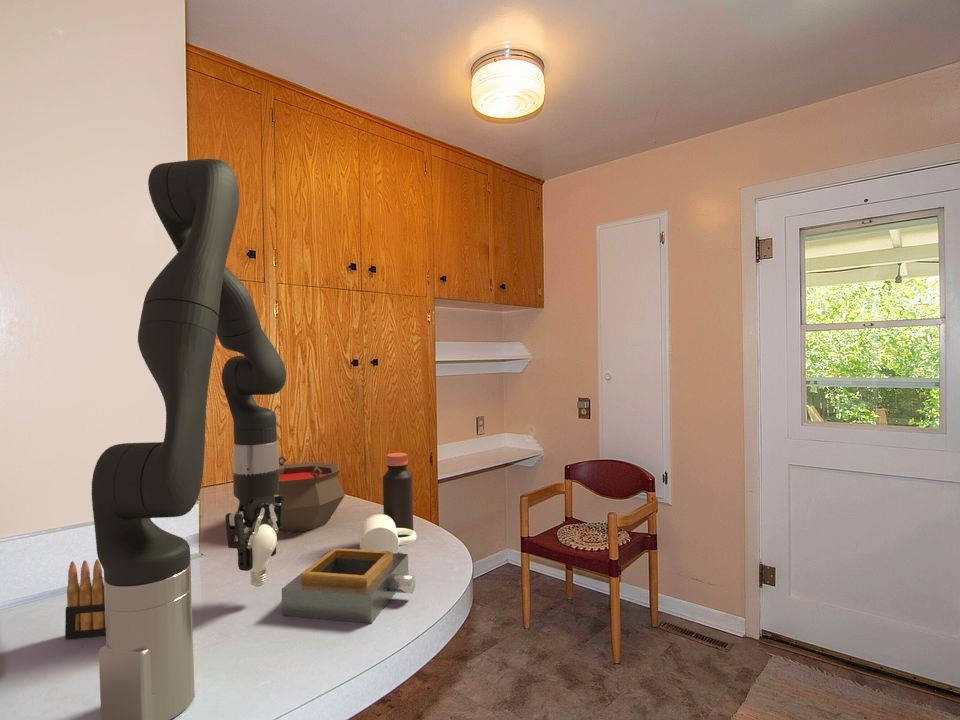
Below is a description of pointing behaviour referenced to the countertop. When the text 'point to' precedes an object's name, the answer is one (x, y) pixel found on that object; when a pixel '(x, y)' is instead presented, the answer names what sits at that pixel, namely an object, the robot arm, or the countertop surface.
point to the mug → (383, 534)
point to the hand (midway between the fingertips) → (258, 562)
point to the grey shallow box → (348, 585)
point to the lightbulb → (261, 553)
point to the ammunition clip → (85, 603)
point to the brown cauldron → (308, 494)
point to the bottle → (398, 491)
